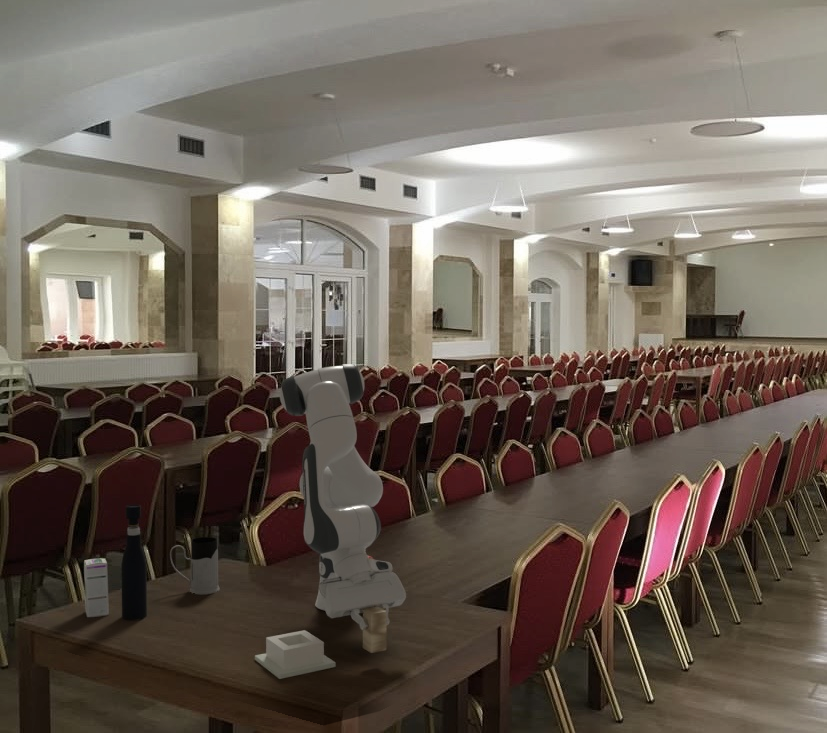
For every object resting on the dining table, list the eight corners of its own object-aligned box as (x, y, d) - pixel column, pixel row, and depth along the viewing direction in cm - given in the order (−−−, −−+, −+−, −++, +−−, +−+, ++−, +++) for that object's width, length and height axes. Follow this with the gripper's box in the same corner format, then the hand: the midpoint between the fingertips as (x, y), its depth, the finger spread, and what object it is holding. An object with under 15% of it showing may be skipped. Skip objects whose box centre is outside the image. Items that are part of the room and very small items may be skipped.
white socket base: (308, 648, 226) (308, 626, 225) (335, 666, 214) (335, 643, 214) (254, 659, 218) (254, 636, 218) (279, 679, 206) (279, 654, 206)
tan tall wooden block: (377, 644, 217) (377, 606, 217) (386, 649, 214) (386, 611, 214) (362, 647, 215) (362, 609, 215) (371, 653, 212) (371, 614, 211)
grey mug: (219, 593, 272) (219, 542, 271) (169, 596, 269) (169, 544, 268) (219, 585, 280) (219, 535, 279) (170, 587, 277) (170, 538, 276)
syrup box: (109, 615, 251) (108, 562, 250) (86, 618, 249) (85, 564, 248) (106, 609, 256) (106, 557, 256) (84, 611, 254) (83, 559, 253)
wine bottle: (133, 621, 246) (132, 509, 244) (116, 617, 249) (115, 506, 248) (151, 615, 251) (150, 505, 250) (135, 611, 254) (134, 502, 253)
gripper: (320, 573, 214) (340, 627, 206) (396, 561, 225) (418, 612, 217) (312, 588, 218) (331, 641, 210) (387, 575, 229) (407, 625, 221)
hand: (376, 626), depth 214 cm, fingers closed on tan tall wooden block, 4 cm apart
